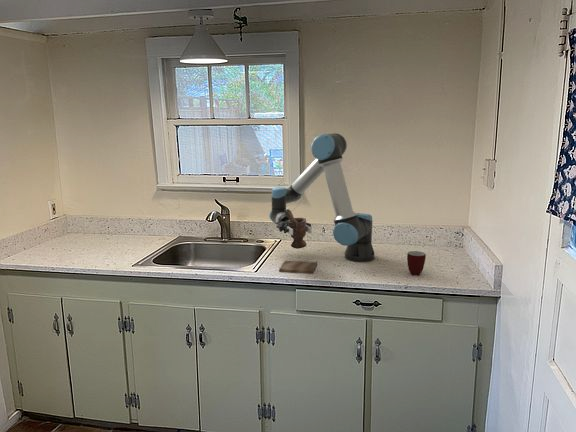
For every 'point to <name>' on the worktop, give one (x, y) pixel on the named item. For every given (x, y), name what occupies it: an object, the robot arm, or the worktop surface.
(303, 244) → the mortar and pestle
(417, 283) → the worktop surface
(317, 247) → the worktop surface
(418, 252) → the mug
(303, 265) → the walnut cutting board
